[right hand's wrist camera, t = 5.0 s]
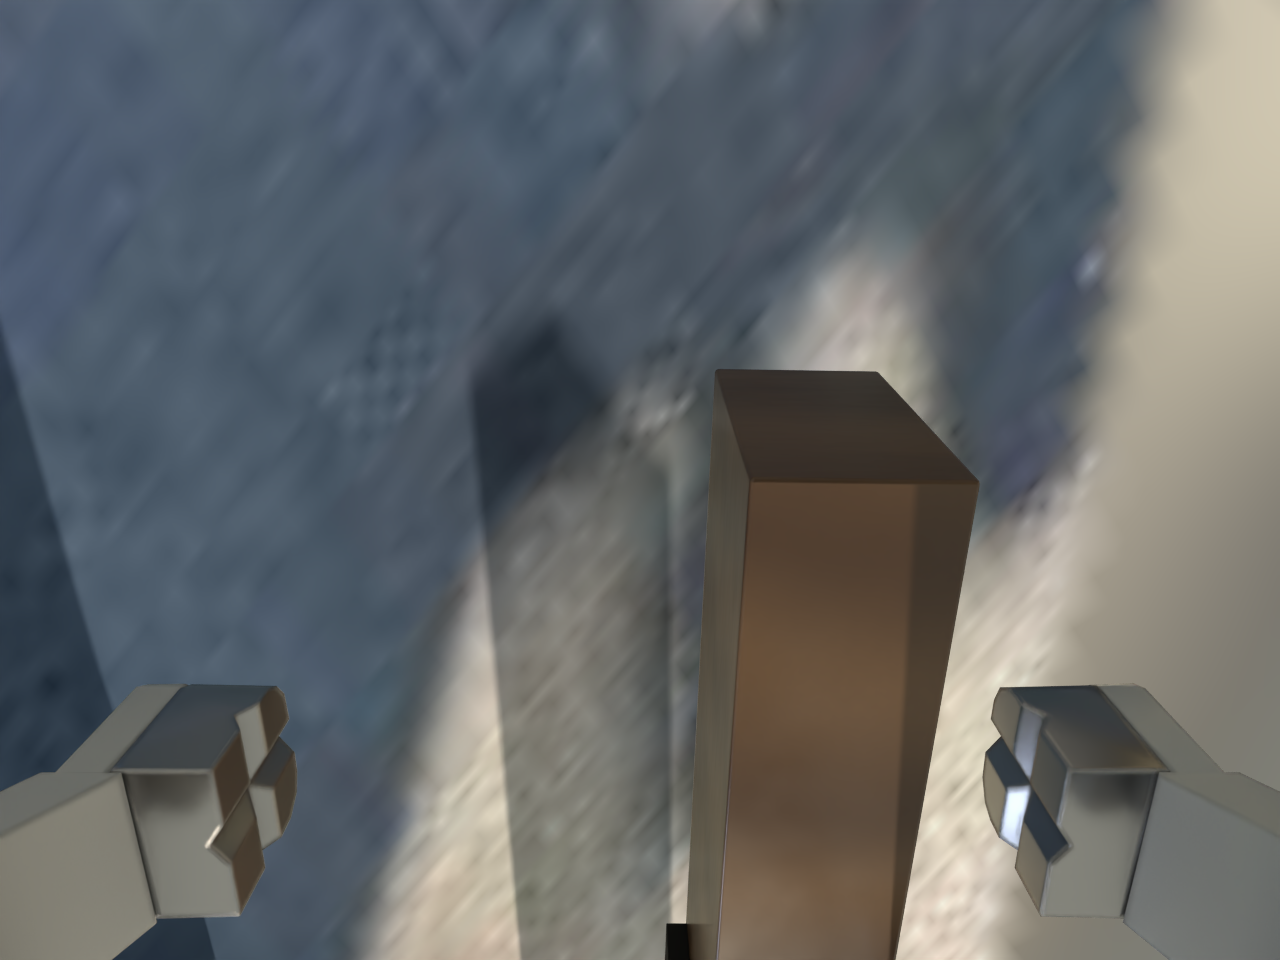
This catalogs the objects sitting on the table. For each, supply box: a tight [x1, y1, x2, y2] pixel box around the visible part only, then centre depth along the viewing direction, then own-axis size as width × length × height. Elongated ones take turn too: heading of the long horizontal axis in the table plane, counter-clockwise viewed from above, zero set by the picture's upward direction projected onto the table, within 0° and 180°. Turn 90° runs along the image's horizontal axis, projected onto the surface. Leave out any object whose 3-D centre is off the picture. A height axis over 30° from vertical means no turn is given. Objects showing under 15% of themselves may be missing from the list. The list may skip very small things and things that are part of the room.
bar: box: [686, 369, 980, 960], centre depth 26 cm, size 25×4×8 cm, turn 179°
